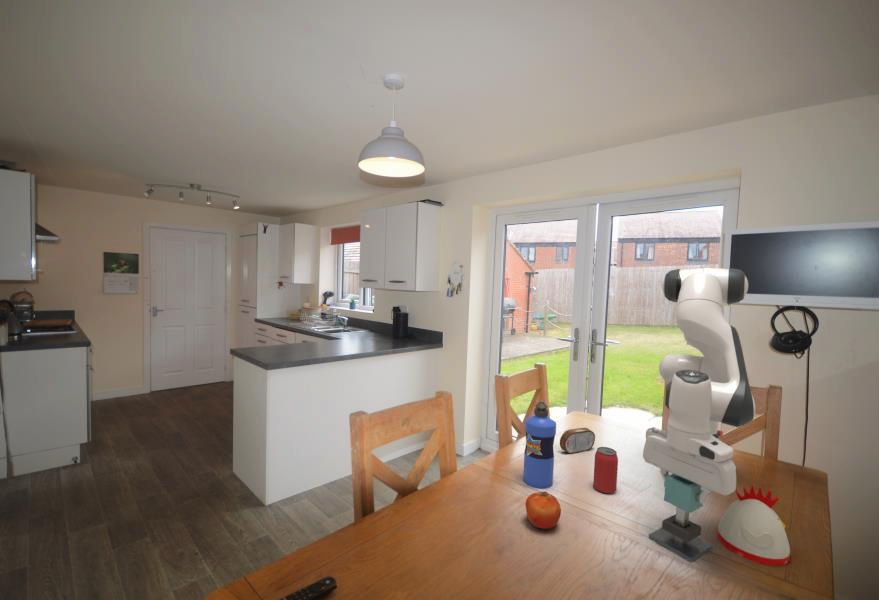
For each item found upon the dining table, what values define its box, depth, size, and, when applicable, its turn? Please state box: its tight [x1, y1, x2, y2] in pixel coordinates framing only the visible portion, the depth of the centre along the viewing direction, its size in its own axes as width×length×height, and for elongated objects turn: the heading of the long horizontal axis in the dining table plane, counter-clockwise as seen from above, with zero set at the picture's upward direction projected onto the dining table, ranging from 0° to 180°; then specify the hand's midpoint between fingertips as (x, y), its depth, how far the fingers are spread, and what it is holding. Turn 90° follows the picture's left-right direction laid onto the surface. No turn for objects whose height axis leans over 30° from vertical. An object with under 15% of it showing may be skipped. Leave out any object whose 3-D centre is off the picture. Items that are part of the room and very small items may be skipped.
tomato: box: [525, 490, 562, 530], centre depth 106 cm, size 9×9×8 cm
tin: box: [559, 427, 596, 454], centre depth 152 cm, size 15×3×8 cm, turn 114°
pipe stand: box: [648, 506, 714, 563], centre depth 100 cm, size 10×10×11 cm
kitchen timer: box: [717, 484, 791, 567], centre depth 100 cm, size 14×14×15 cm
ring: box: [661, 513, 702, 542], centre depth 100 cm, size 6×6×2 cm
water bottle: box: [522, 401, 557, 490], centre depth 128 cm, size 9×9×25 cm
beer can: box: [592, 446, 619, 494], centre depth 125 cm, size 7×7×12 cm
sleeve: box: [663, 473, 704, 514], centre depth 99 cm, size 6×6×6 cm
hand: (684, 494), depth 99 cm, fingers closed on sleeve, 6 cm apart
